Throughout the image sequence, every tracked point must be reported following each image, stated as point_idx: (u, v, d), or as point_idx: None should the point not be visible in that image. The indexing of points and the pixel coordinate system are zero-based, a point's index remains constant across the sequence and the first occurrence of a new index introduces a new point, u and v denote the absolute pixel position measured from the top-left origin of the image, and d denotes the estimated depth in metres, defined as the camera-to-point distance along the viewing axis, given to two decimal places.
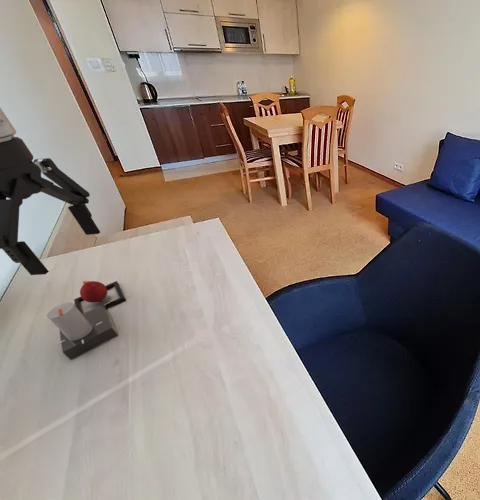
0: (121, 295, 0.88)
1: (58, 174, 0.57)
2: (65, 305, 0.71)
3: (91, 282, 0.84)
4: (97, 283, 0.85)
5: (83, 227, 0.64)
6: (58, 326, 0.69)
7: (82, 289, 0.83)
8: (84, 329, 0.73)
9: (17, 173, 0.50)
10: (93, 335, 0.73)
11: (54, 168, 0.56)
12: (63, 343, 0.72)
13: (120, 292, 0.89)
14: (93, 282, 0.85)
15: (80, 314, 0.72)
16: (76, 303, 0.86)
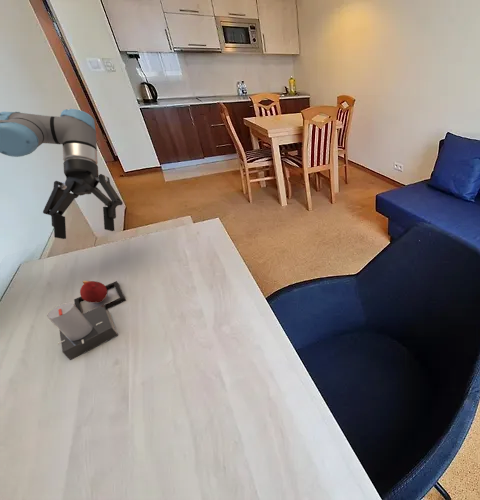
0: (121, 295, 0.88)
1: None
2: (65, 305, 0.71)
3: (91, 282, 0.84)
4: (97, 283, 0.85)
5: (58, 230, 0.84)
6: (58, 326, 0.69)
7: (82, 289, 0.83)
8: (84, 329, 0.73)
9: None
10: (93, 335, 0.73)
11: None
12: (63, 343, 0.72)
13: (120, 292, 0.89)
14: (93, 282, 0.85)
15: (80, 314, 0.72)
16: (76, 303, 0.86)
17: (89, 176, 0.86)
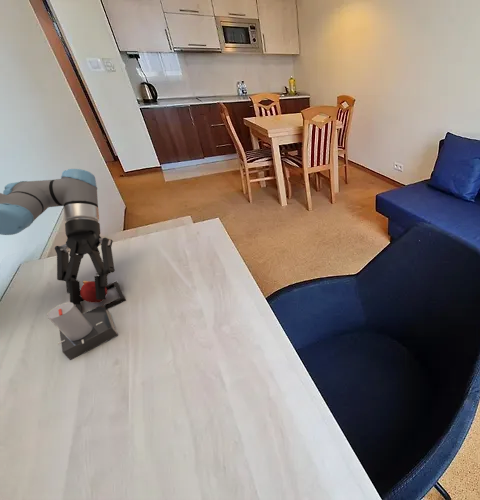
0: (121, 295, 0.88)
1: None
2: (65, 305, 0.71)
3: (91, 282, 0.84)
4: None
5: (74, 297, 0.82)
6: (58, 326, 0.69)
7: (82, 289, 0.83)
8: (84, 329, 0.73)
9: None
10: (93, 335, 0.73)
11: None
12: (63, 343, 0.72)
13: (120, 292, 0.89)
14: (93, 282, 0.85)
15: (80, 314, 0.72)
16: None
17: (92, 235, 0.86)
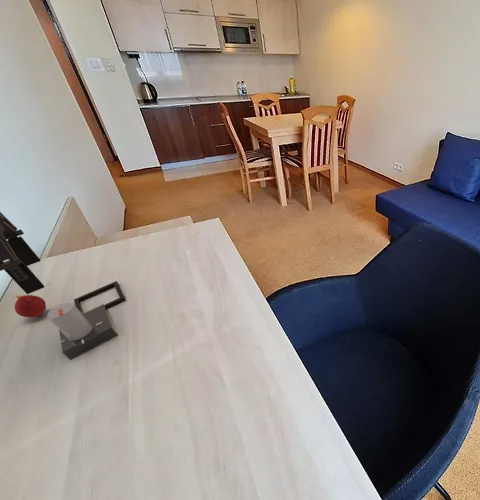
0: (121, 295, 0.88)
1: None
2: (65, 305, 0.71)
3: (26, 296, 0.81)
4: (33, 297, 0.82)
5: (22, 259, 0.67)
6: (58, 326, 0.69)
7: (16, 304, 0.80)
8: (84, 329, 0.73)
9: None
10: (93, 335, 0.73)
11: None
12: (63, 343, 0.72)
13: (120, 292, 0.89)
14: (29, 296, 0.82)
15: (80, 314, 0.72)
16: (76, 303, 0.86)
17: None
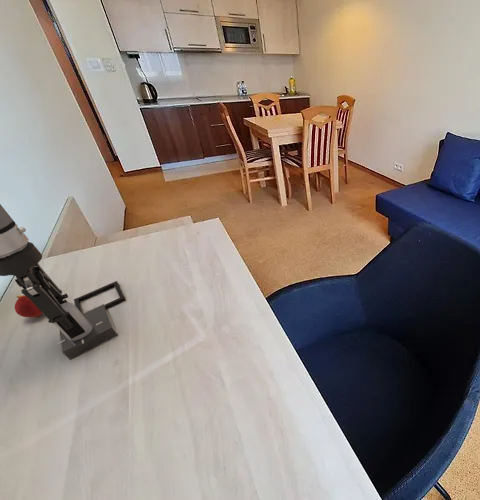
0: (121, 295, 0.88)
1: (43, 272, 0.69)
2: (65, 305, 0.71)
3: None
4: None
5: None
6: (58, 326, 0.69)
7: (16, 304, 0.80)
8: (84, 329, 0.73)
9: (32, 268, 0.64)
10: (93, 335, 0.73)
11: None
12: (63, 343, 0.72)
13: (120, 292, 0.89)
14: None
15: (80, 314, 0.72)
16: (76, 303, 0.86)
17: (17, 278, 0.60)
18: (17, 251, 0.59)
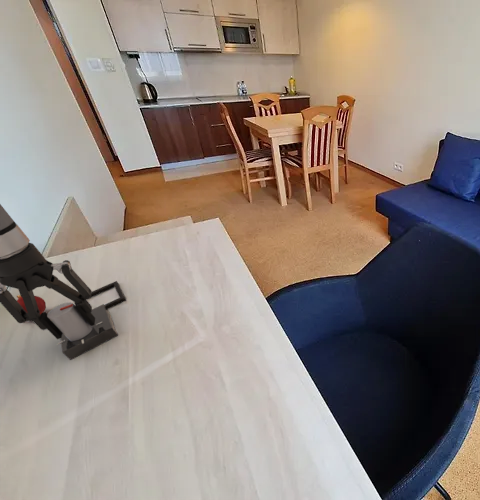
0: (121, 295, 0.88)
1: None
2: (56, 309, 0.70)
3: None
4: None
5: (56, 331, 0.71)
6: (75, 320, 0.71)
7: None
8: None
9: None
10: (93, 335, 0.73)
11: None
12: (63, 343, 0.72)
13: (120, 292, 0.89)
14: None
15: None
16: None
17: (42, 266, 0.63)
18: None
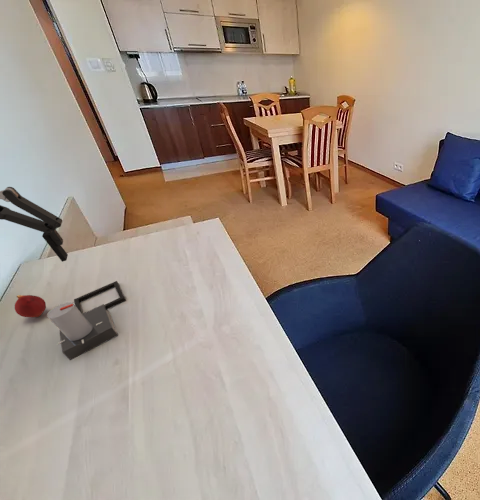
0: (121, 295, 0.88)
1: None
2: (56, 309, 0.70)
3: (26, 296, 0.81)
4: (33, 297, 0.82)
5: None
6: (75, 320, 0.71)
7: (16, 304, 0.80)
8: None
9: None
10: (93, 335, 0.73)
11: None
12: (63, 343, 0.72)
13: (120, 292, 0.89)
14: (29, 296, 0.82)
15: None
16: (76, 303, 0.86)
17: None
18: None
